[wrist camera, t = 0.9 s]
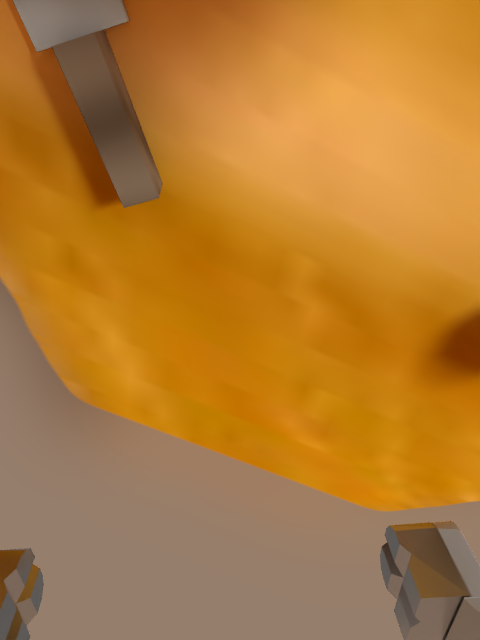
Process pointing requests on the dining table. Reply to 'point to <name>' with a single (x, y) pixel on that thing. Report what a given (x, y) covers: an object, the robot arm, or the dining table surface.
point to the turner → (97, 86)
